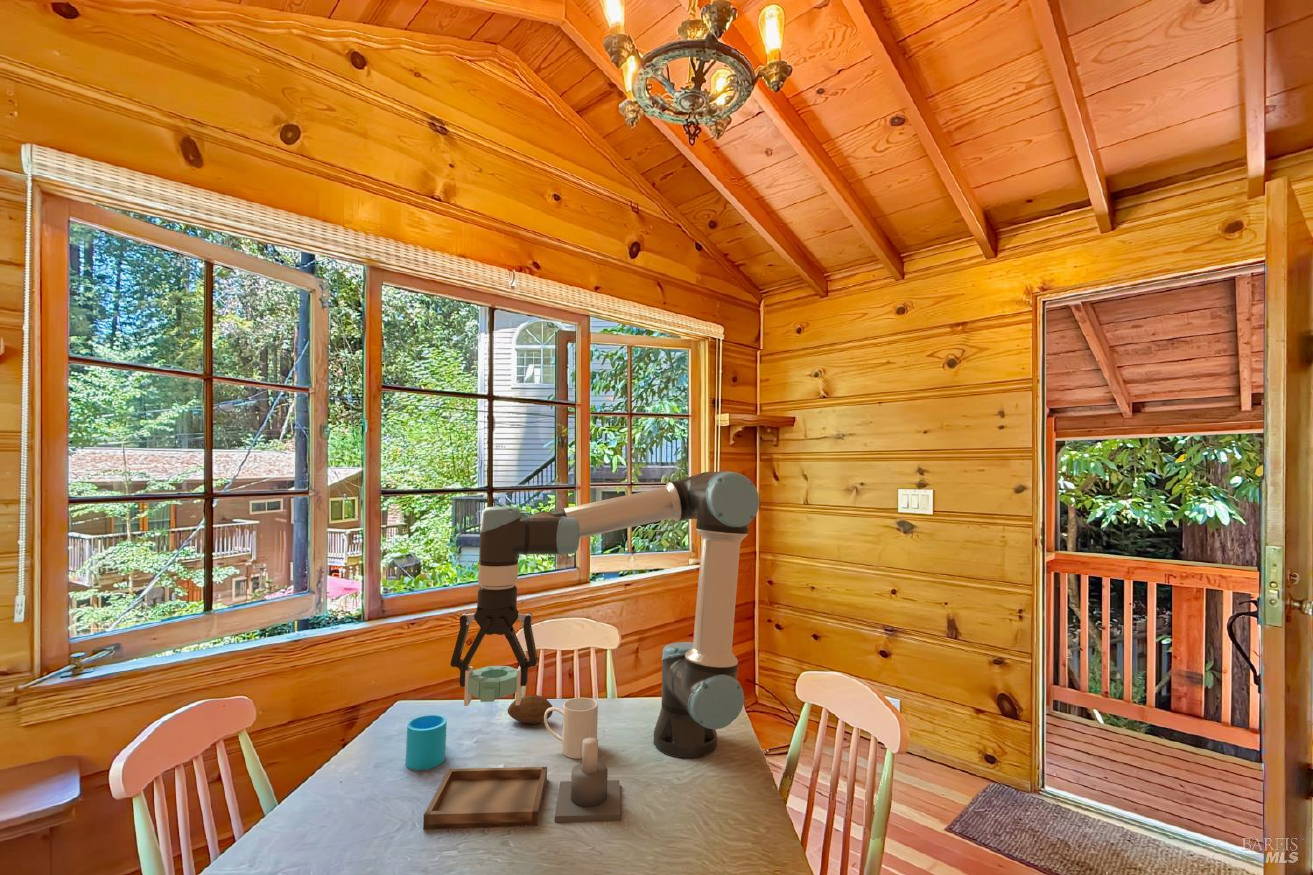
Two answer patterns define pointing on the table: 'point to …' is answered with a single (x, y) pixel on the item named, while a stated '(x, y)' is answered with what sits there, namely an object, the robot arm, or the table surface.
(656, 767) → the table surface
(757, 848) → the table surface
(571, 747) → the mug
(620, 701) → the table surface
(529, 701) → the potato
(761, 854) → the table surface
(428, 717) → the mug
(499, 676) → the ring
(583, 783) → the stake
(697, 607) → the robot arm
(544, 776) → the tray
